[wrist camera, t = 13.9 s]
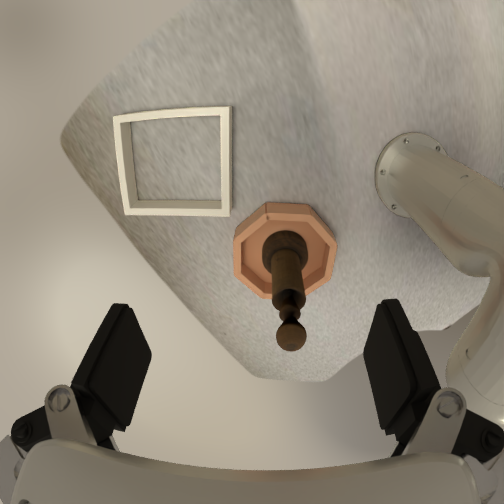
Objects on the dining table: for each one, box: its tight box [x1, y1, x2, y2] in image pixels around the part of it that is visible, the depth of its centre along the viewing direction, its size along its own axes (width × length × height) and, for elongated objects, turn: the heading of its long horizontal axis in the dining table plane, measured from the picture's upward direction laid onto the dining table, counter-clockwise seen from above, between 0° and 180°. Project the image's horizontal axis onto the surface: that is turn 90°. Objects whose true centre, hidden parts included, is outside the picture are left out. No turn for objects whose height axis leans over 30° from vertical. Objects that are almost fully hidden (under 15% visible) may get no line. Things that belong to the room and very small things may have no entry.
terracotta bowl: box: [233, 202, 337, 299], centre depth 41 cm, size 14×14×4 cm
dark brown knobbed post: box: [262, 230, 308, 351], centre depth 34 cm, size 7×6×18 cm
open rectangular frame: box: [113, 106, 232, 217], centre depth 35 cm, size 15×14×3 cm
